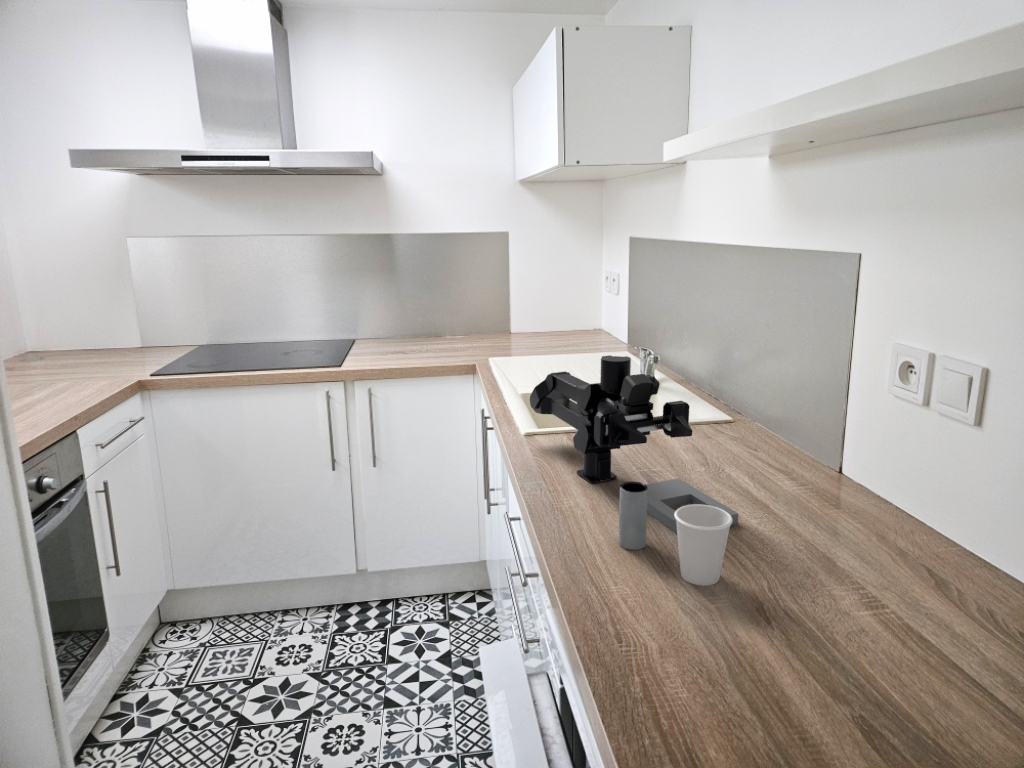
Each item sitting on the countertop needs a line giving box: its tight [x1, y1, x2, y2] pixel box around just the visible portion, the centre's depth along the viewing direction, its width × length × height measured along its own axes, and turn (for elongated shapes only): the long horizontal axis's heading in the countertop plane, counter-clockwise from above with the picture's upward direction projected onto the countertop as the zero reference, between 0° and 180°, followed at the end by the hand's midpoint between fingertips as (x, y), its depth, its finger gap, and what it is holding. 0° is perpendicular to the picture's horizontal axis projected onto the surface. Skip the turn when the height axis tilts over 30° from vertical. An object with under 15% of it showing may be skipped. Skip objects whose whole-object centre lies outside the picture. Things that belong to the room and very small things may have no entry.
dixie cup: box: [674, 504, 732, 587], centre depth 103 cm, size 8×8×10 cm
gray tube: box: [618, 481, 648, 551], centre depth 113 cm, size 4×4×10 cm
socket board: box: [644, 477, 739, 534], centre depth 127 cm, size 18×12×2 cm, turn 22°
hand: (669, 436), depth 117 cm, fingers open, 9 cm apart
